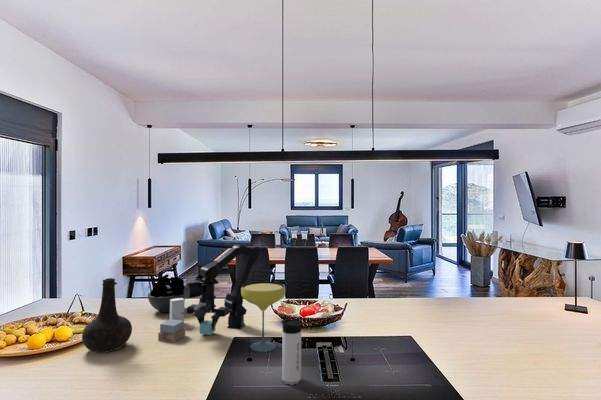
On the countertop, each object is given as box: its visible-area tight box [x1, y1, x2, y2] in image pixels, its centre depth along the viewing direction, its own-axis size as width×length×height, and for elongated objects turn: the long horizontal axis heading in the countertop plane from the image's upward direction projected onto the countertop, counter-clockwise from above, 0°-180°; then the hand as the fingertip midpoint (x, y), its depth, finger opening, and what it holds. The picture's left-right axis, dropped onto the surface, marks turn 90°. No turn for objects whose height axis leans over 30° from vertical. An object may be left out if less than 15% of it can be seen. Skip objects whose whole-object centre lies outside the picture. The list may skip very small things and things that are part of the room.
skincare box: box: [169, 298, 185, 322], centre depth 177 cm, size 6×4×12 cm
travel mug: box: [281, 319, 302, 386], centre depth 122 cm, size 6×7×20 cm
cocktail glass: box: [241, 281, 286, 353], centre depth 150 cm, size 18×18×25 cm
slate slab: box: [159, 318, 185, 334], centre depth 160 cm, size 7×7×4 cm
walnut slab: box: [157, 328, 186, 343], centre depth 159 cm, size 8×8×4 cm
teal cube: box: [199, 319, 216, 336], centre depth 164 cm, size 5×5×4 cm
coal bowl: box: [147, 273, 186, 313], centre depth 198 cm, size 20×20×19 cm
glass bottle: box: [81, 277, 133, 353], centre depth 148 cm, size 18×18×28 cm
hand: (207, 329), depth 164 cm, fingers closed on teal cube, 5 cm apart
